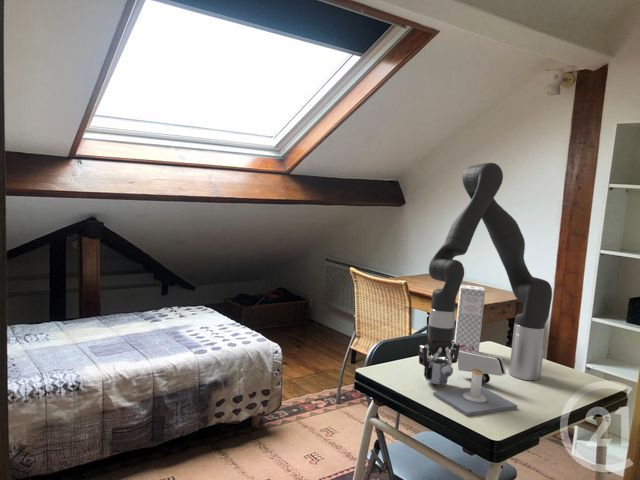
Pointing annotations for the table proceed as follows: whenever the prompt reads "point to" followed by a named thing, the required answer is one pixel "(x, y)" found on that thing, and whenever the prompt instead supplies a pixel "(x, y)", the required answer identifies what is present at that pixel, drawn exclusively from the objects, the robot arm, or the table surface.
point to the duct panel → (474, 398)
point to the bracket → (480, 364)
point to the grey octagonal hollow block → (440, 371)
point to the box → (469, 317)
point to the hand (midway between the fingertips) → (436, 377)
